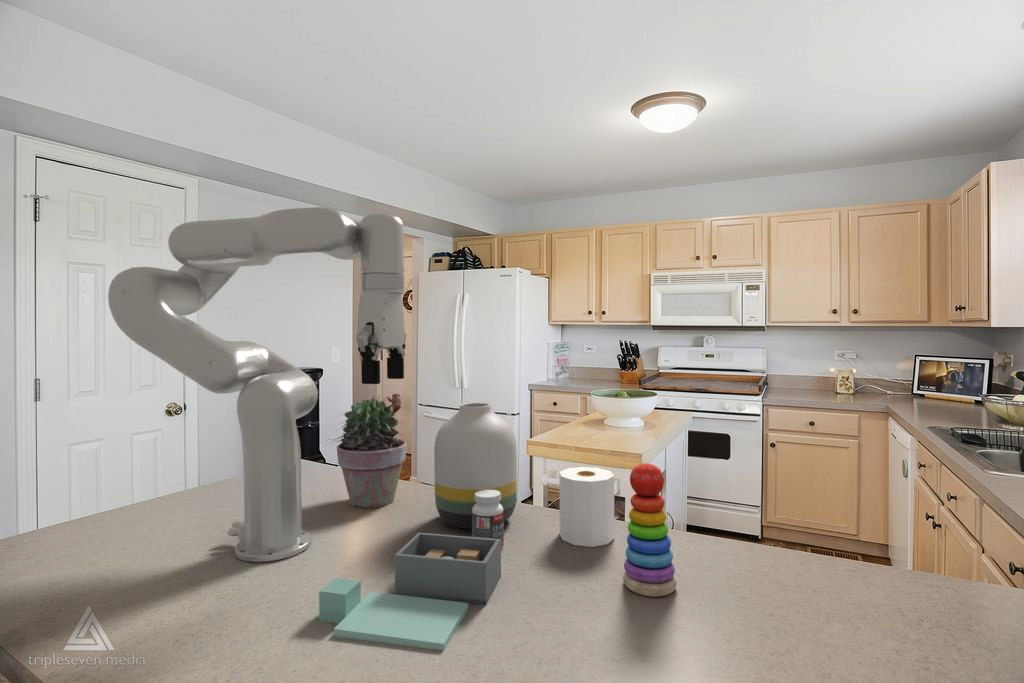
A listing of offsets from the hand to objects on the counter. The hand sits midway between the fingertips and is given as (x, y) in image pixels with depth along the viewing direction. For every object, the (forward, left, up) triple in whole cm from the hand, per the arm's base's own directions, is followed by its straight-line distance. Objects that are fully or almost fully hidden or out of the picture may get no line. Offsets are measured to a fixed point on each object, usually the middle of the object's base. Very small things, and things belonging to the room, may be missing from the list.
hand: (383, 381), depth 96 cm
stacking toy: (+46, -5, -31) cm, 55 cm away
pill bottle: (+18, +4, -31) cm, 36 cm away
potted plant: (-16, +24, -31) cm, 42 cm away
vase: (+12, +17, -31) cm, 37 cm away
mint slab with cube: (+11, -22, -30) cm, 39 cm away
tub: (+16, -11, -30) cm, 36 cm away
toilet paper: (+35, +13, -31) cm, 48 cm away
